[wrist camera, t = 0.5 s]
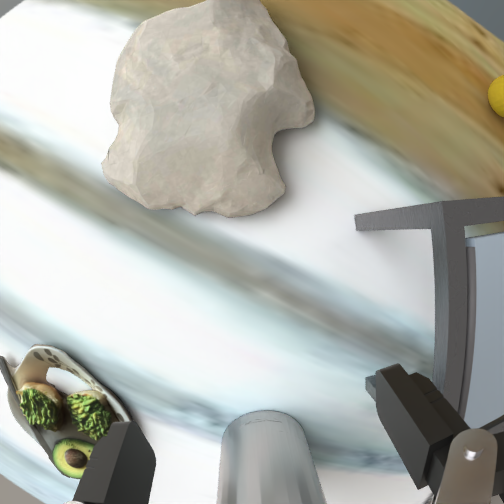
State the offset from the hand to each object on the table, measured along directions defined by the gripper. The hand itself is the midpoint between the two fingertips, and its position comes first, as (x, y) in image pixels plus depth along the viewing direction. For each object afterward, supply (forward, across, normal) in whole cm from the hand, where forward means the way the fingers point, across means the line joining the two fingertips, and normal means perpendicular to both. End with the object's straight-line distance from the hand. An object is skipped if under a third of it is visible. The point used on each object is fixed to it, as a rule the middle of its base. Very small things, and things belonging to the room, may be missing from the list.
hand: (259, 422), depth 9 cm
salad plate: (+19, -25, -14) cm, 35 cm away
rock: (+25, +1, +16) cm, 30 cm away
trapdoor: (+6, +20, -6) cm, 22 cm away
